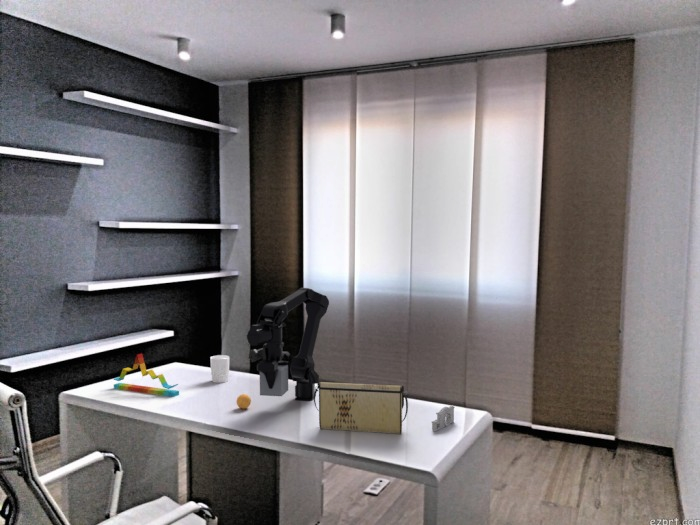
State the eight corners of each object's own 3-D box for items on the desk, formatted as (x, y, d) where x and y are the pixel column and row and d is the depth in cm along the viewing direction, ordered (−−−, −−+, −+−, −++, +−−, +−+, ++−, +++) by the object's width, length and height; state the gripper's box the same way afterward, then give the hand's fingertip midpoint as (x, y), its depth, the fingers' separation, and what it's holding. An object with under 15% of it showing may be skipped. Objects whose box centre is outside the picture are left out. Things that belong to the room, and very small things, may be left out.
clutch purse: (409, 428, 179) (409, 381, 178) (407, 436, 172) (406, 387, 171) (317, 422, 185) (317, 377, 184) (311, 430, 178) (311, 382, 177)
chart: (179, 395, 218) (178, 356, 217) (173, 397, 215) (172, 358, 214) (120, 387, 230) (119, 350, 229) (113, 389, 227) (112, 352, 227)
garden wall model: (435, 432, 175) (435, 413, 175) (430, 430, 176) (430, 412, 176) (455, 422, 184) (455, 404, 184) (450, 420, 186) (450, 402, 185)
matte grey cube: (288, 390, 201) (287, 365, 200) (281, 396, 193) (281, 370, 193) (267, 389, 202) (267, 364, 202) (259, 395, 195) (259, 369, 194)
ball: (253, 406, 202) (252, 392, 202) (247, 410, 197) (247, 396, 197) (239, 405, 203) (239, 392, 203) (234, 410, 198) (234, 396, 198)
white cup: (227, 383, 234) (227, 359, 234) (208, 383, 234) (207, 359, 234) (231, 378, 242) (231, 355, 241) (213, 378, 242) (212, 355, 242)
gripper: (261, 335, 207) (261, 377, 208) (241, 345, 189) (242, 391, 190) (290, 336, 205) (291, 378, 206) (273, 346, 187) (274, 393, 188)
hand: (274, 385), depth 198 cm, fingers closed on matte grey cube, 8 cm apart
